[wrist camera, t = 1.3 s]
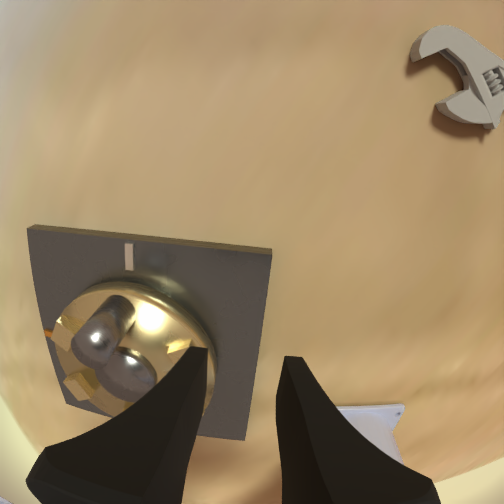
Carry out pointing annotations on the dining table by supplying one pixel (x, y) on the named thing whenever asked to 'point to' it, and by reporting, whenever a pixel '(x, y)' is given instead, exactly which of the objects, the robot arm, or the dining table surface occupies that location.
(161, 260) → the base plate
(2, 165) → the dining table surface
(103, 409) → the rotary dial knob
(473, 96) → the adjustable wrench
